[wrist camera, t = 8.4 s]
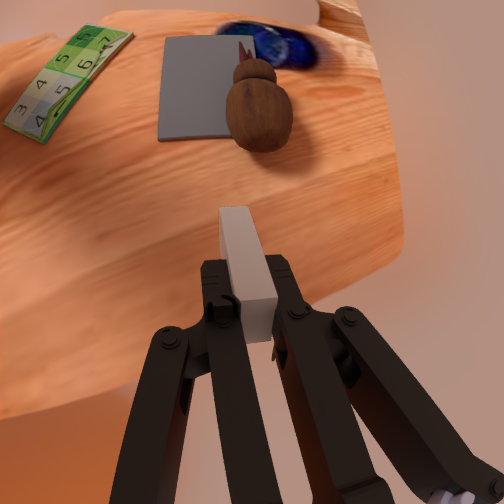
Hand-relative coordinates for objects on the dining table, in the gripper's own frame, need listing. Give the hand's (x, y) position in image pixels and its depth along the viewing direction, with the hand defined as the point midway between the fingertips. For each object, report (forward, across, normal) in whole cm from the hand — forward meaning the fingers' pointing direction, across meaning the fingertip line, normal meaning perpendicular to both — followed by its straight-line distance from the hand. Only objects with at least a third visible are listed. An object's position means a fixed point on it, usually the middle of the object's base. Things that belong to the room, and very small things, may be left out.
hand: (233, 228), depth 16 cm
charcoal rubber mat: (+25, 0, +5) cm, 26 cm away
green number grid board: (+29, -20, +8) cm, 36 cm away
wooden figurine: (+14, +5, 0) cm, 15 cm away
